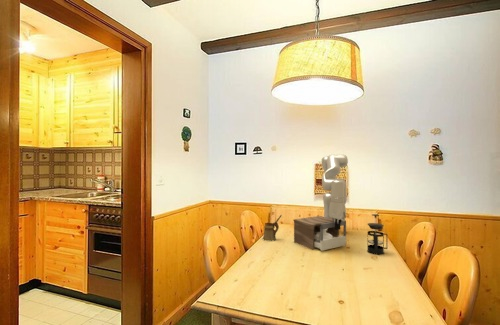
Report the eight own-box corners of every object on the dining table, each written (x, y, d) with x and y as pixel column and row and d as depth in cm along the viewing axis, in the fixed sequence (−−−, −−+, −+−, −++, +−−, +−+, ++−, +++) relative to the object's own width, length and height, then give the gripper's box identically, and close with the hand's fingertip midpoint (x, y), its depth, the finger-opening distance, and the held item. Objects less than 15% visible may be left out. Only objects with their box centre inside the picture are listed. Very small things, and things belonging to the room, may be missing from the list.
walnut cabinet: (319, 237, 195) (319, 215, 195) (339, 243, 179) (339, 220, 179) (293, 242, 182) (293, 219, 182) (312, 249, 166) (312, 224, 167)
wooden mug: (280, 242, 182) (280, 216, 183) (261, 240, 187) (261, 214, 187) (282, 238, 191) (282, 213, 191) (264, 237, 195) (264, 212, 195)
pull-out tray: (325, 238, 188) (325, 215, 188) (346, 245, 173) (346, 220, 173) (301, 243, 177) (301, 219, 177) (321, 250, 162) (321, 224, 162)
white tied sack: (332, 246, 172) (335, 230, 178) (330, 241, 167) (333, 225, 173) (314, 243, 178) (317, 228, 184) (311, 238, 173) (314, 223, 179)
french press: (366, 253, 159) (366, 215, 159) (365, 249, 168) (365, 212, 168) (388, 256, 155) (388, 216, 155) (386, 251, 164) (386, 213, 164)
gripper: (324, 199, 170) (324, 227, 170) (343, 202, 157) (343, 233, 157) (332, 198, 173) (332, 226, 173) (351, 201, 161) (351, 231, 161)
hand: (337, 229), depth 165 cm, fingers closed
